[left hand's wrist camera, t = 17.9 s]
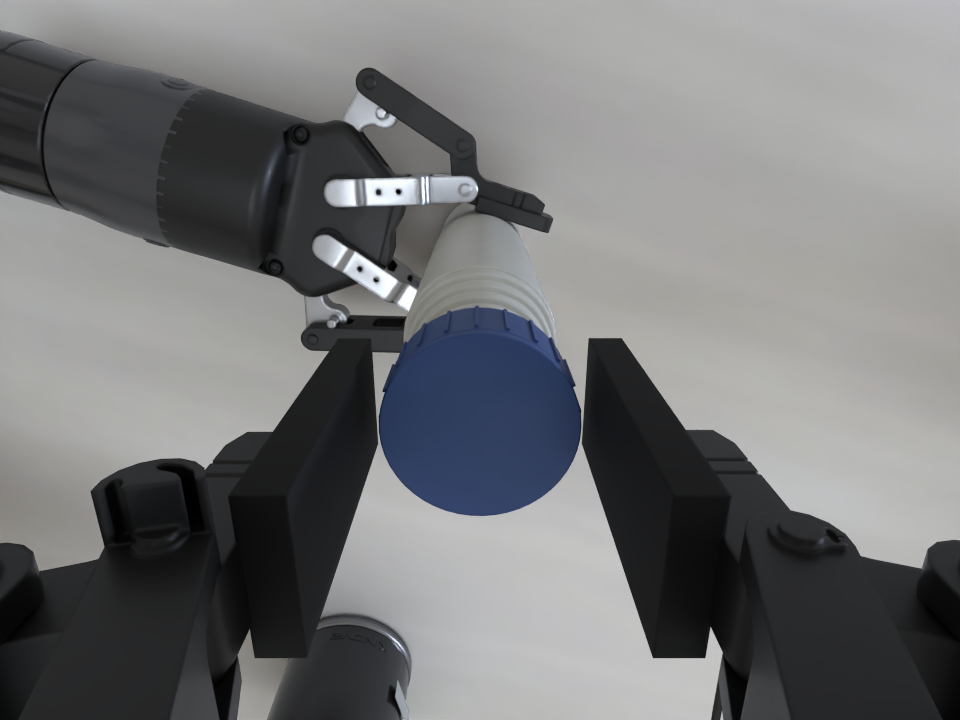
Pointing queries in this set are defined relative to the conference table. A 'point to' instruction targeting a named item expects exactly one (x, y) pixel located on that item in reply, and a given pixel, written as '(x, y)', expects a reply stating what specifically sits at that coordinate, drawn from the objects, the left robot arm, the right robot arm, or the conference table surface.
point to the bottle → (479, 273)
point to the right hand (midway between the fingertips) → (530, 274)
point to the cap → (480, 413)
